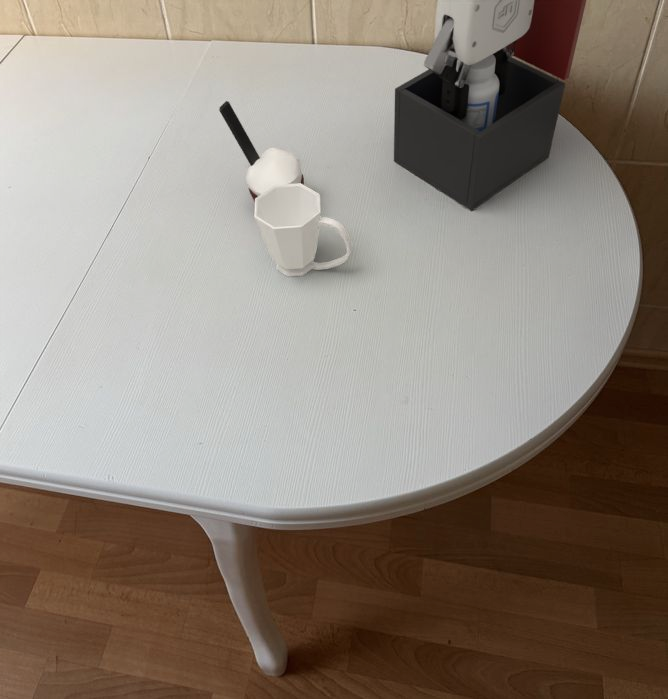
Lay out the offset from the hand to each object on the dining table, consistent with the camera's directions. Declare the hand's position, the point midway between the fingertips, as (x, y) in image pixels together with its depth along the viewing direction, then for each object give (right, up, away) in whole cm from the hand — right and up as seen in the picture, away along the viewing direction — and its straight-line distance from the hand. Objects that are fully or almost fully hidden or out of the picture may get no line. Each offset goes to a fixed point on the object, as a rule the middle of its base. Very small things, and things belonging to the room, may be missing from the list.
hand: (472, 100), depth 77 cm
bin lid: (+5, +9, -4) cm, 12 cm away
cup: (-18, -19, -2) cm, 26 cm away
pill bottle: (0, -3, +4) cm, 5 cm away
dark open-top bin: (+1, -5, +7) cm, 9 cm away
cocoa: (-22, -11, +4) cm, 25 cm away
